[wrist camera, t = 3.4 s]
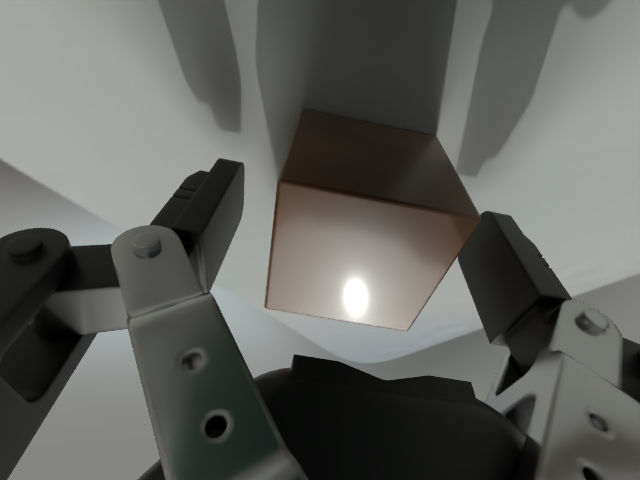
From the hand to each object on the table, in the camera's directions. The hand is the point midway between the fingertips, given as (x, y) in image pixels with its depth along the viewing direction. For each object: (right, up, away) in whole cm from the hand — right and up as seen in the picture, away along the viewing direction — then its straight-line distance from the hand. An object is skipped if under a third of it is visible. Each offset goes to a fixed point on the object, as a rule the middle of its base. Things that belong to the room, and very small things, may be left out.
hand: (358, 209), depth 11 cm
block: (0, +1, +1) cm, 2 cm away
